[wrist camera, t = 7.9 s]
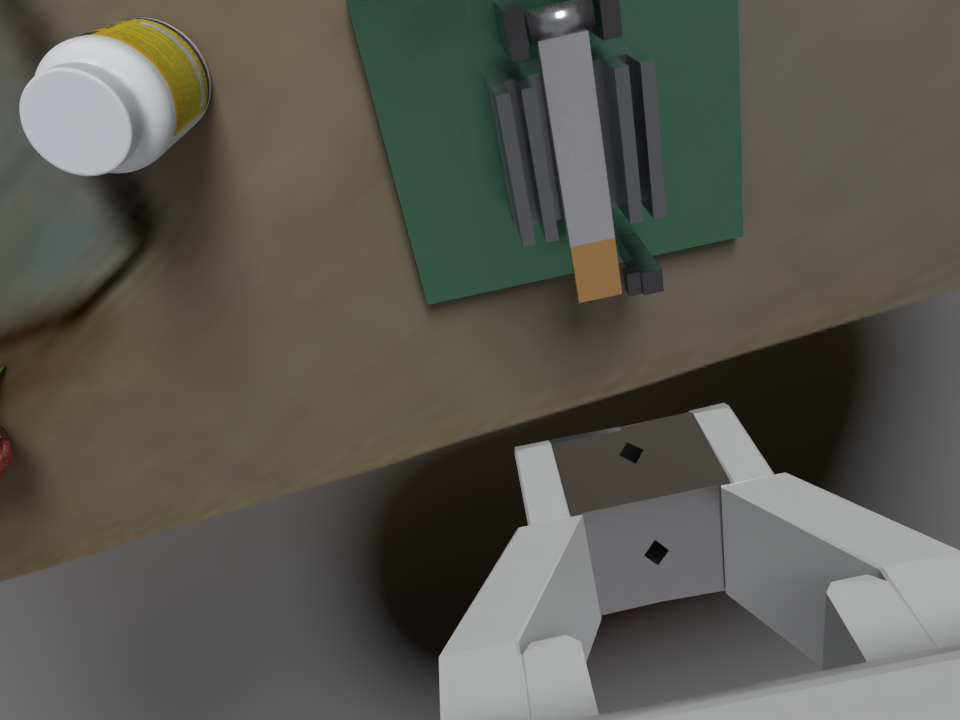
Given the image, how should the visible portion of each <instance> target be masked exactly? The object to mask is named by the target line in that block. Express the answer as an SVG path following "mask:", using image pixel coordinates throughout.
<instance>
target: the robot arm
mask: <svg viewBox="0 0 960 720" xmlns="http://www.w3.org/2000/svg"><path fill="white" fill-rule="evenodd" d="M515 457H516V462H517V468H518V473H519V479H520V484H521V489H522V494H523V500H524V505H525V510H526V515H527V521H528V526H525V527H520V528H518V529H517V531H516V533H515V534H514V536H513V537H512V539H511V541H510V542H509V544H508V546H507V547H506V549H505V550H504V552H503V553H502V555H501V557H500V558H499V560H498V562H497V563H496V565H495V566H494V568H493V570H492V571H491V573H490V575H489V576H488V578H487V580H486V581H485V583H484V584H483V586H482V588H481V589H480V591H479V593H478V594H477V596H476V597H475V599H474V601H473V602H472V604H471V606H470V607H469V609H468V611H467V612H466V614H465V615H464V617H463V619H462V620H461V622H460V624H459V625H458V627H457V629H456V630H455V632H454V633H453V635H452V637H451V638H450V640H449V641H448V643H447V645H446V646H445V648H444V650H443V651H442V653H441V654H440V656H439V681H440V683H439V684H440V719H441V720H960V551H959V550H957V549H955V548H952V547H950V546H948V545H946V544H943V543H941V542H939V541H937V540H935V539H932V538H930V537H928V536H926V535H923V534H921V533H919V532H917V531H914V530H912V529H910V528H908V527H906V526H903V525H901V524H899V523H897V522H895V521H892V520H890V519H888V518H886V517H883V516H881V515H879V514H877V513H874V512H872V511H870V510H868V509H865V508H863V507H861V506H859V505H857V504H854V503H852V502H850V501H848V500H845V499H843V498H841V497H838V496H837V495H834V494H832V493H830V492H827V491H825V490H823V489H821V488H819V487H816V486H814V485H812V484H810V483H808V482H805V481H803V480H801V479H799V478H796V477H794V476H792V475H790V474H788V473H781V474H776V475H774V473H773V471H772V470H771V468H770V467H769V465H768V464H767V462H766V461H765V460H764V458H763V456H762V455H761V453H760V452H759V450H758V449H757V447H756V446H755V444H754V443H753V442H752V440H751V438H750V437H749V435H748V434H747V432H746V431H745V429H744V428H743V426H742V425H741V423H740V422H739V420H738V419H737V417H736V416H735V414H734V413H733V411H732V410H731V408H730V406H728V405H726V404H725V403H721V404H717V405H713V406H708V407H704V408H700V409H696V410H692V411H689V412H688V413H684V414H679V415H674V416H670V417H665V418H661V419H656V420H651V421H647V422H643V423H637V424H633V425H628V426H624V427H616V428H611V429H605V430H600V431H595V432H590V433H584V434H579V435H573V436H569V437H563V438H558V439H552V440H551V443H550V442H549V441H544V442H538V443H533V444H528V445H523V446H519V447H515ZM724 590H726V594H728V595H729V596H730V597H731V598H733V599H734V600H735V601H737V602H738V603H739V604H741V605H742V606H743V607H745V608H746V609H747V610H748V611H750V612H751V613H752V614H754V615H755V616H756V617H758V618H759V619H760V620H762V621H763V622H764V623H765V624H767V625H768V626H769V627H771V628H772V629H773V630H774V631H776V632H777V633H778V634H780V635H781V636H782V637H784V638H785V639H787V640H788V641H789V642H790V643H791V644H793V645H794V646H795V647H797V648H798V649H799V650H801V651H802V652H803V653H805V654H806V655H807V656H808V657H810V658H811V659H812V660H814V661H815V662H816V663H818V664H819V665H820V666H822V671H819V672H813V673H808V674H803V675H798V676H793V677H788V678H783V679H778V680H773V681H768V682H763V683H758V684H752V685H748V686H742V687H737V688H732V689H727V690H722V691H717V692H712V693H707V694H702V695H697V696H692V697H687V698H681V699H677V700H672V701H666V702H661V703H656V704H651V705H647V706H641V707H636V708H631V709H626V710H621V711H616V712H611V713H605V714H601V715H599V714H598V710H597V706H596V702H595V698H594V694H593V689H592V686H591V681H590V677H589V673H588V669H587V665H586V661H587V658H588V655H589V652H590V650H591V647H592V644H593V641H594V638H595V636H596V633H597V630H598V627H599V624H600V622H601V615H604V614H609V613H613V612H617V611H622V610H626V609H630V608H635V607H639V606H644V605H648V604H652V603H657V602H661V601H667V600H672V599H678V598H684V597H690V596H696V595H701V594H707V593H713V592H719V591H724Z"/></svg>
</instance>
